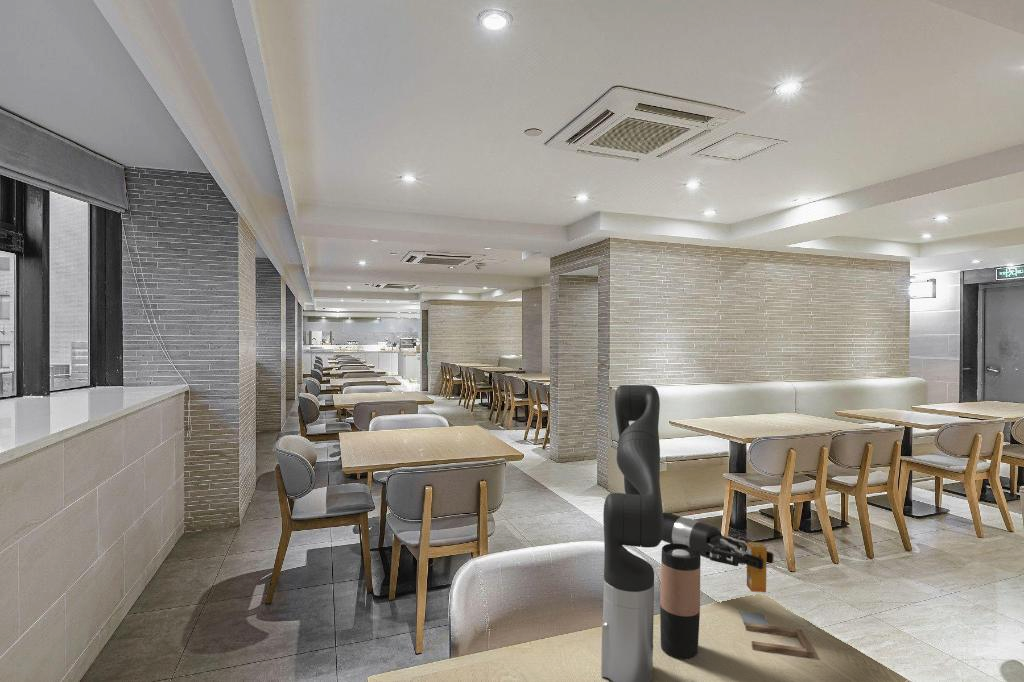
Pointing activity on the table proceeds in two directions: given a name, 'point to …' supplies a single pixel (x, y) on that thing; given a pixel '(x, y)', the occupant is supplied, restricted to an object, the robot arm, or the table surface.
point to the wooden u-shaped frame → (803, 651)
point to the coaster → (753, 618)
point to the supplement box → (755, 575)
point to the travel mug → (680, 600)
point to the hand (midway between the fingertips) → (767, 561)
